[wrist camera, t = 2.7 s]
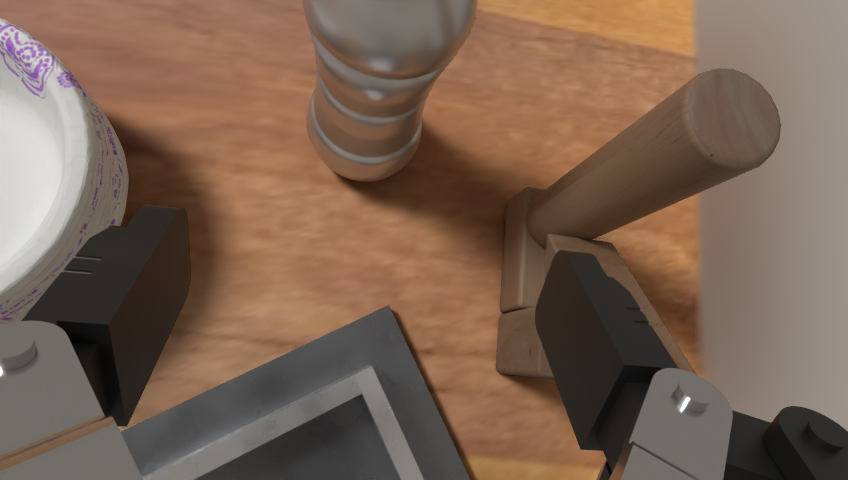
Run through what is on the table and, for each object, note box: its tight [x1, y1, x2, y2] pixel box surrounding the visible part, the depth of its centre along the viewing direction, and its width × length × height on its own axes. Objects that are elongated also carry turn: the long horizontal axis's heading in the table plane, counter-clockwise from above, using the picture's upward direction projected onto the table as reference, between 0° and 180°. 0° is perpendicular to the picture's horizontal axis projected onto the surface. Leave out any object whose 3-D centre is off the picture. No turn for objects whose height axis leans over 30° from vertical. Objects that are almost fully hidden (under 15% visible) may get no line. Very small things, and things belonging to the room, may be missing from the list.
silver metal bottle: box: [302, 0, 478, 181], centre depth 24 cm, size 6×7×20 cm
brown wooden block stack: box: [496, 69, 781, 379], centre depth 25 cm, size 4×11×18 cm, turn 174°
